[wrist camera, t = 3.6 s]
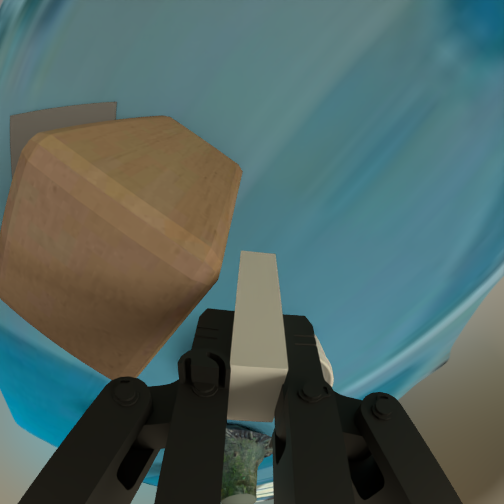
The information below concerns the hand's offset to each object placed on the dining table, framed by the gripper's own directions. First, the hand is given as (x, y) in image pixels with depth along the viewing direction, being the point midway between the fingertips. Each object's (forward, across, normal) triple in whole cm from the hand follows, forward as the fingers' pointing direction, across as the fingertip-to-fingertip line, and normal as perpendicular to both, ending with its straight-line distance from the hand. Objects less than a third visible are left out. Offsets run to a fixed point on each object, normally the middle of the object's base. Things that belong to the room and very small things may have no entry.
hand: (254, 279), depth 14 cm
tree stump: (+18, 0, -49) cm, 52 cm away
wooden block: (+18, -8, 0) cm, 19 cm away
